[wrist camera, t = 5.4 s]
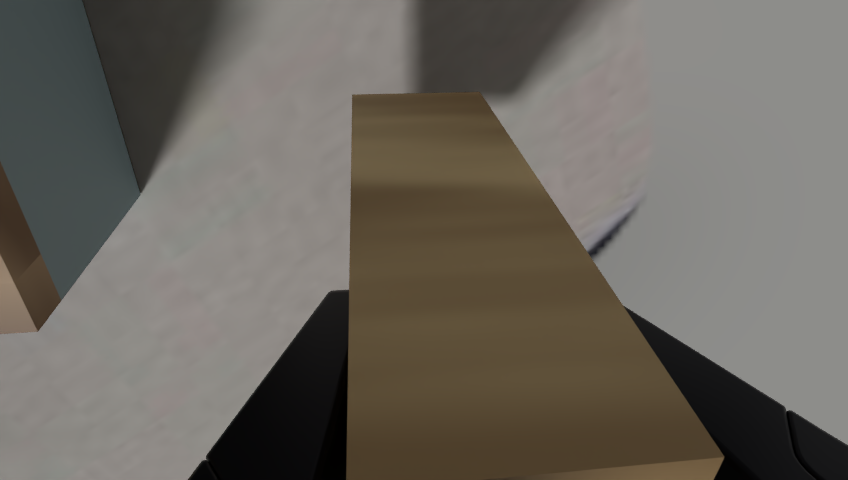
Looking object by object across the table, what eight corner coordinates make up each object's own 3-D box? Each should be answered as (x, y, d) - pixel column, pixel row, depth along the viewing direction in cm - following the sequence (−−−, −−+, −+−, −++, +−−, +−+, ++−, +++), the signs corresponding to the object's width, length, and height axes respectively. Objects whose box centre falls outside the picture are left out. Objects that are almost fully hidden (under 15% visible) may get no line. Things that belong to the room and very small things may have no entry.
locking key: (472, 204, 14) (640, 630, 6) (359, 208, 14) (365, 666, 6) (479, 92, 13) (724, 456, 4) (352, 94, 12) (346, 492, 4)
